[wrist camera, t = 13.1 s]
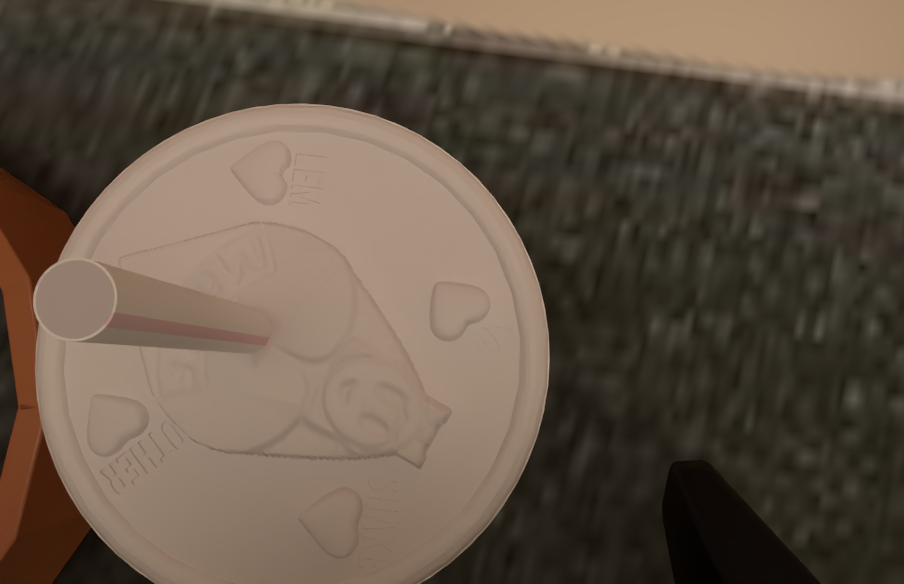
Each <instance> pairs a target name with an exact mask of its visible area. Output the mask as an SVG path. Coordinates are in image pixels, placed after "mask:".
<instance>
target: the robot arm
mask: <svg viewBox="0 0 904 584" xmlns="http://www.w3.org/2000/svg"><path fill="white" fill-rule="evenodd" d="M662 515H663V523H664V528H665V534H666V539H667V544H668V550H669V555H670V561H671V566H672V571H673V577H674V582H675V584H821V583H820V582H819V581H818V580H817V579H816V578H815V577H814V576H813V575H812V573H811V572H810V571H809V570H808V569H807V568H806V567H805V566H804V565H803V564H802V563H801V562H800V561H799V559H798V558H797V557H796V556H795V555H794V554H793V553H792V552H791V551H790V550H789V549H788V548H787V546H786V545H785V544H784V543H783V542H782V541H781V540H780V539H779V538H778V537H777V536H776V535H775V533H774V532H773V531H772V530H771V529H770V528H769V527H768V526H767V525H766V524H765V523H764V522H763V521H762V519H761V518H760V517H759V516H758V515H757V514H756V513H755V512H754V511H753V510H752V509H751V508H750V506H749V505H748V504H747V503H746V502H745V501H744V500H743V499H742V498H741V497H740V496H739V495H738V494H737V492H736V491H735V490H734V489H733V488H732V487H731V486H730V485H729V484H728V483H727V482H726V481H725V479H724V478H723V477H722V476H721V475H720V474H719V473H718V472H717V471H716V470H715V469H714V468H713V467H712V466H711V465H710V464H709V463H708V462H705V461H702V460H694V461H677V462H674V463H673V464H672V465H671V467H670V469H669V474H668V479H667V483H666V488H665V493H664V497H663V502H662Z"/></svg>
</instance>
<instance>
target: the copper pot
mask: <svg viewBox="0 0 904 584" xmlns="http://www.w3.org/2000/svg"><path fill="white" fill-rule="evenodd" d="M74 229H75V227H74V225H73V224H72V222H71V220H70V219H69V217H68V216H67V214H66V213H65V211H63V210H62V209H60V208H59V207H57V206H56V205H55V204H53V203H52V202H50V201H49V200H47V199H46V198H44V197H43V196H41V195H40V194H39V193H37V192H36V191H34V190H33V189H31V188H30V187H28V186H27V185H25V184H24V183H23V182H21V181H20V180H18V179H17V178H15V177H14V176H12V175H11V174H9V173H8V172H7V171H5V170H4V169H2V168H1V167H0V287H1V289H2V292H3V299H4V306H5V313H6V320H7V328H8V335H9V342H10V349H11V357H12V364H13V371H14V378H15V386H16V393H17V400H18V411H17V415H16V418H15V422H14V426H13V430H12V434H11V438H10V442H9V446H8V450H7V454H6V458H5V462H4V466H3V470H2V474H1V477H0V584H52V583H53V582H54V580H55V579H56V577H57V576H58V574H59V573H60V572H61V570H62V569H63V567H64V566H65V564H66V563H67V562H68V560H69V559H70V557H71V556H72V554H73V553H74V552H75V550H76V549H77V547H78V546H79V545H80V543H81V542H82V540H83V539H84V537H85V536H86V535H87V533H88V532H89V530H90V529H91V526H90V525H89V523H88V522H87V521H86V520H85V518H84V517H83V516H82V514H81V513H80V511H79V510H78V508H77V507H76V505H75V503H74V502H73V500H72V499H71V497H70V496H69V494H68V492H67V490H66V488H65V486H64V484H63V482H62V480H61V478H60V476H59V474H58V472H57V470H56V467H55V465H54V462H53V459H52V457H51V454H50V452H49V449H48V446H47V442H46V439H45V435H44V431H43V428H42V424H41V419H40V413H39V407H38V401H37V391H36V377H35V362H36V343H37V335H38V327H39V322H38V320H37V318H36V315H35V312H34V307H33V295H34V291H35V287H36V285H37V283H38V281H39V279H40V277H41V276H42V275H43V273H44V272H45V271H46V270H47V269H48V268H49V267H51V266H52V265H54V264H55V263H57V262H58V260H59V258H60V255H61V253H62V251H63V249H64V247H65V245H66V244H67V242H68V240H69V238H70V236H71V235H72V233H73V231H74Z"/></svg>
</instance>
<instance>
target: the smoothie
mask: <svg viewBox="0 0 904 584" xmlns="http://www.w3.org/2000/svg"><path fill="white" fill-rule="evenodd" d="M33 307H34V312H35V315H36V318H37V320H38V322H39V327H38V335H37V343H36V362H35V377H36V391H37V401H38V407H39V413H40V419H41V424H42V428H43V431H44V435H45V439H46V442H47V446H48V449H49V452H50V454H51V457H52V459H53V462H54V465H55V467H56V470H57V472H58V474H59V476H60V478H61V480H62V482H63V484H64V486H65V488H66V490H67V492H68V494H69V496H70V497H71V499H72V500H73V502H74V503H75V505H76V507H77V508H78V510H79V511H80V513H81V514H82V516H83V517H84V518H85V520H86V521H87V522H88V523H89V525H90V526H91V527H92V528H93V530H94V531H95V532H96V533H97V535H98V536H99V537H100V538H101V539H102V540H103V541H104V542H105V543H106V544H107V545H108V546H109V547H110V548H111V549H112V550H113V551H114V552H115V553H116V554H117V555H118V556H119V557H120V558H122V559H123V560H124V561H125V562H126V563H128V564H129V565H130V566H131V567H132V568H134V569H135V570H136V571H137V572H139V573H140V574H142V575H143V576H145V577H146V578H148V579H149V580H151V581H152V582H154V583H155V584H420V583H422V582H424V581H425V580H427V579H429V578H430V577H432V576H433V575H434V574H436V573H437V572H438V571H440V570H441V569H443V568H444V567H445V566H447V565H448V564H450V563H451V562H452V561H453V560H454V559H455V558H456V557H458V556H459V555H460V554H461V553H462V552H463V551H464V550H465V549H467V548H468V547H469V546H470V545H471V544H472V543H473V542H474V541H475V540H476V538H477V537H478V536H479V535H480V534H481V533H482V532H483V531H484V530H485V529H486V528H487V527H488V525H489V524H490V523H491V521H492V520H493V519H494V517H495V516H496V515H497V513H498V512H499V511H500V509H501V508H502V507H503V505H504V504H505V502H506V501H507V499H508V497H509V496H510V494H511V492H512V491H513V489H514V488H515V486H516V484H517V483H518V480H519V478H520V476H521V474H522V472H523V470H524V468H525V466H526V464H527V462H528V460H529V457H530V454H531V452H532V449H533V446H534V444H535V441H536V438H537V436H538V432H539V428H540V424H541V420H542V416H543V413H544V408H545V401H546V395H547V389H548V378H549V362H550V358H549V334H548V326H547V319H546V311H545V306H544V302H543V298H542V294H541V290H540V285H539V282H538V280H537V277H536V274H535V271H534V268H533V265H532V262H531V260H530V258H529V255H528V253H527V251H526V249H525V247H524V244H523V242H522V240H521V238H520V236H519V235H518V233H517V231H516V230H515V228H514V226H513V224H512V223H511V221H510V219H509V218H508V216H507V215H506V213H505V212H504V211H503V209H502V208H501V207H500V205H499V204H498V202H497V201H496V200H495V198H494V197H493V196H492V195H491V194H490V192H489V191H488V190H487V189H486V188H485V187H484V186H483V185H482V183H481V182H480V181H479V180H478V179H477V178H476V177H475V176H474V175H473V174H472V173H471V172H469V171H468V170H467V169H466V168H465V167H464V166H463V165H462V164H461V163H460V162H458V161H457V160H456V159H455V158H453V157H452V156H451V155H449V154H448V153H447V152H445V151H444V150H443V149H441V148H440V147H438V146H437V145H435V144H434V143H432V142H430V141H429V140H427V139H425V138H424V137H422V136H421V135H419V134H417V133H415V132H413V131H411V130H409V129H407V128H404V127H402V126H400V125H398V124H396V123H393V122H391V121H388V120H385V119H383V118H380V117H377V116H374V115H371V114H367V113H363V112H359V111H356V110H352V109H346V108H340V107H334V106H328V105H315V104H277V105H269V106H261V107H253V108H249V109H244V110H240V111H235V112H231V113H228V114H224V115H221V116H218V117H215V118H212V119H209V120H206V121H204V122H201V123H199V124H197V125H194V126H192V127H190V128H187V129H185V130H183V131H181V132H179V133H178V134H176V135H174V136H172V137H170V138H168V139H167V140H165V141H163V142H161V143H160V144H158V145H157V146H155V147H154V148H152V149H151V150H149V151H148V152H146V153H145V154H143V155H142V156H141V157H140V158H138V159H137V160H136V161H135V162H133V163H132V164H131V165H130V166H129V167H127V168H126V169H125V170H124V171H123V172H122V173H121V174H120V175H119V176H117V177H116V178H115V179H114V180H113V181H112V182H111V183H110V184H109V185H108V186H107V187H106V188H105V189H104V191H103V192H102V193H101V194H100V195H99V197H98V198H97V199H96V200H95V201H94V203H93V204H92V205H91V206H90V207H89V209H88V210H87V212H86V213H85V215H84V216H83V217H82V219H81V220H80V222H79V223H78V225H77V226H76V228H75V229H74V231H73V233H72V235H71V236H70V238H69V240H68V242H67V244H66V245H65V247H64V249H63V251H62V253H61V255H60V258H59V260H58V262H57V263H55V264H54V265H52V266H51V267H49V268H48V269H47V270H46V271H45V272H44V273H43V275H42V276H41V277H40V279H39V281H38V283H37V285H36V287H35V291H34V295H33Z"/></svg>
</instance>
